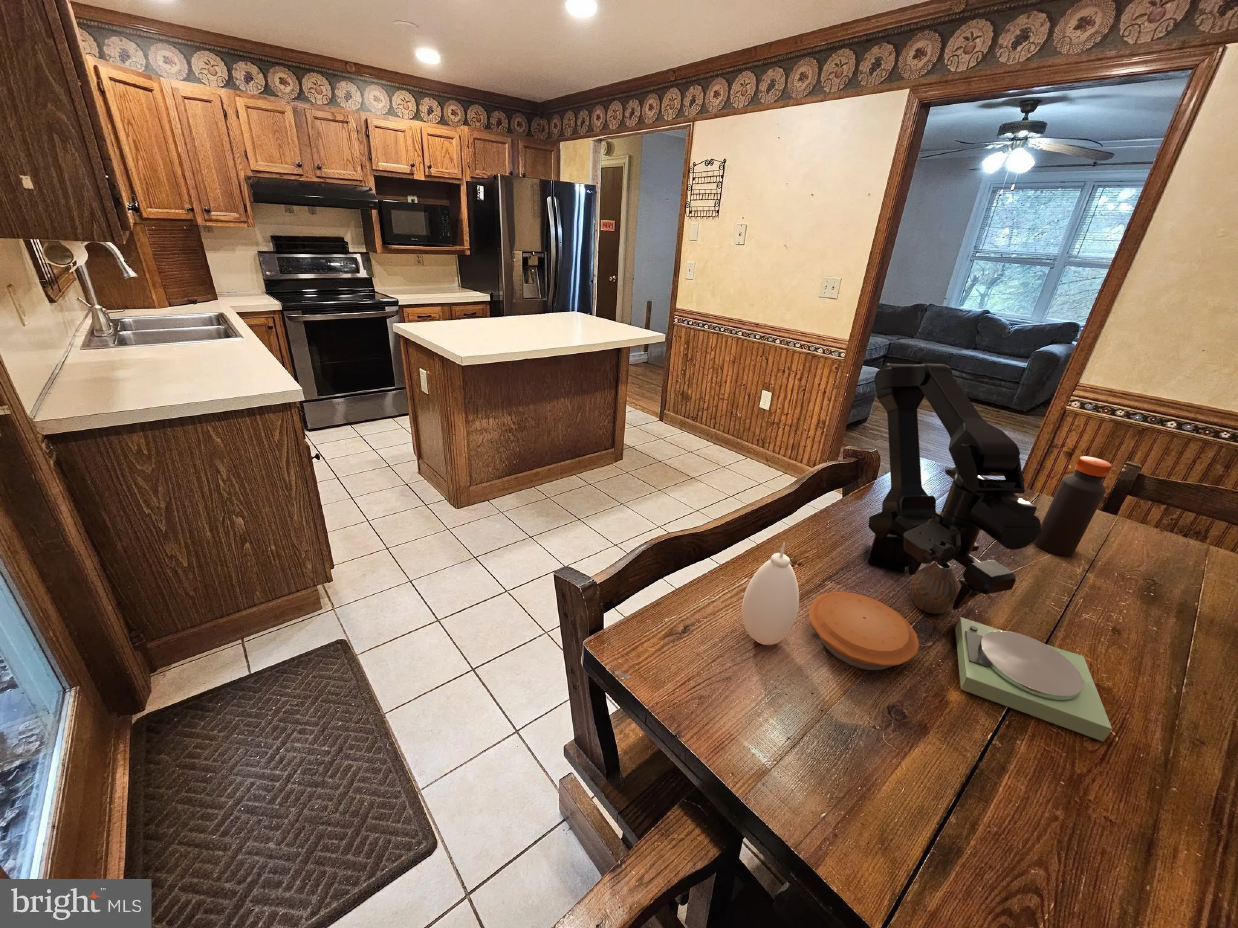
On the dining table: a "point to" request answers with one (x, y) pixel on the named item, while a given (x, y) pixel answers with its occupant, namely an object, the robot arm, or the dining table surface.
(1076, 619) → the dining table surface
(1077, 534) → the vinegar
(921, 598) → the vase
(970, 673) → the scale
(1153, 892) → the dining table surface
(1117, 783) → the dining table surface
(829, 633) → the pie
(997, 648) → the scale pan
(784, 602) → the sauce bottle
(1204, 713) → the dining table surface
